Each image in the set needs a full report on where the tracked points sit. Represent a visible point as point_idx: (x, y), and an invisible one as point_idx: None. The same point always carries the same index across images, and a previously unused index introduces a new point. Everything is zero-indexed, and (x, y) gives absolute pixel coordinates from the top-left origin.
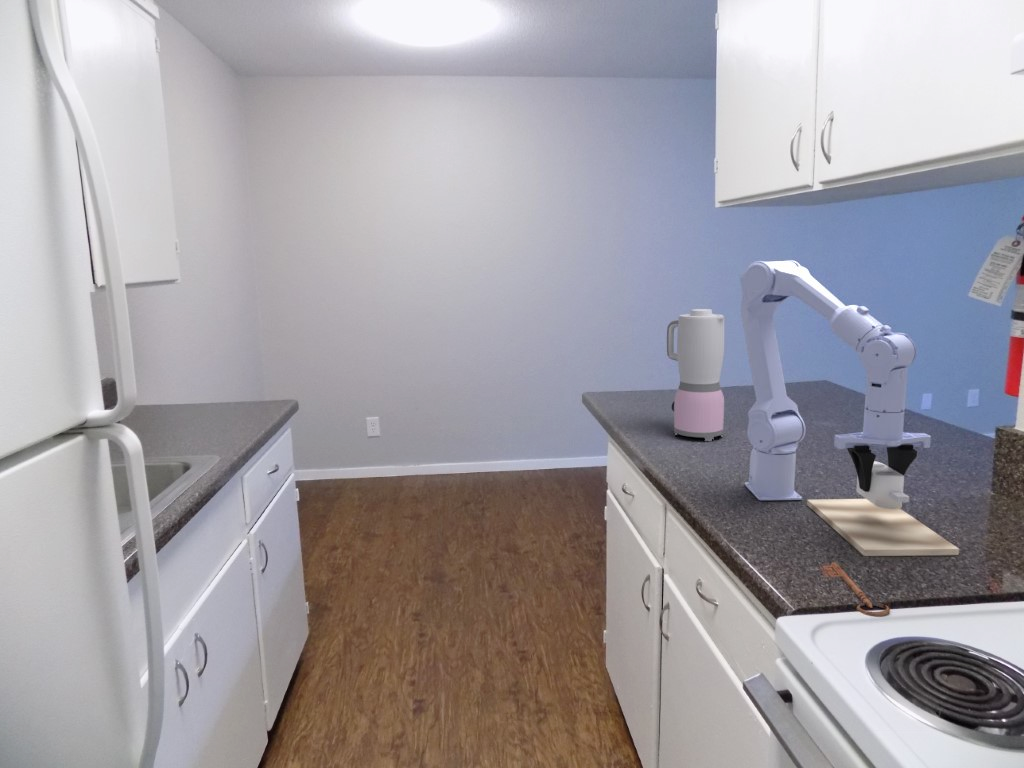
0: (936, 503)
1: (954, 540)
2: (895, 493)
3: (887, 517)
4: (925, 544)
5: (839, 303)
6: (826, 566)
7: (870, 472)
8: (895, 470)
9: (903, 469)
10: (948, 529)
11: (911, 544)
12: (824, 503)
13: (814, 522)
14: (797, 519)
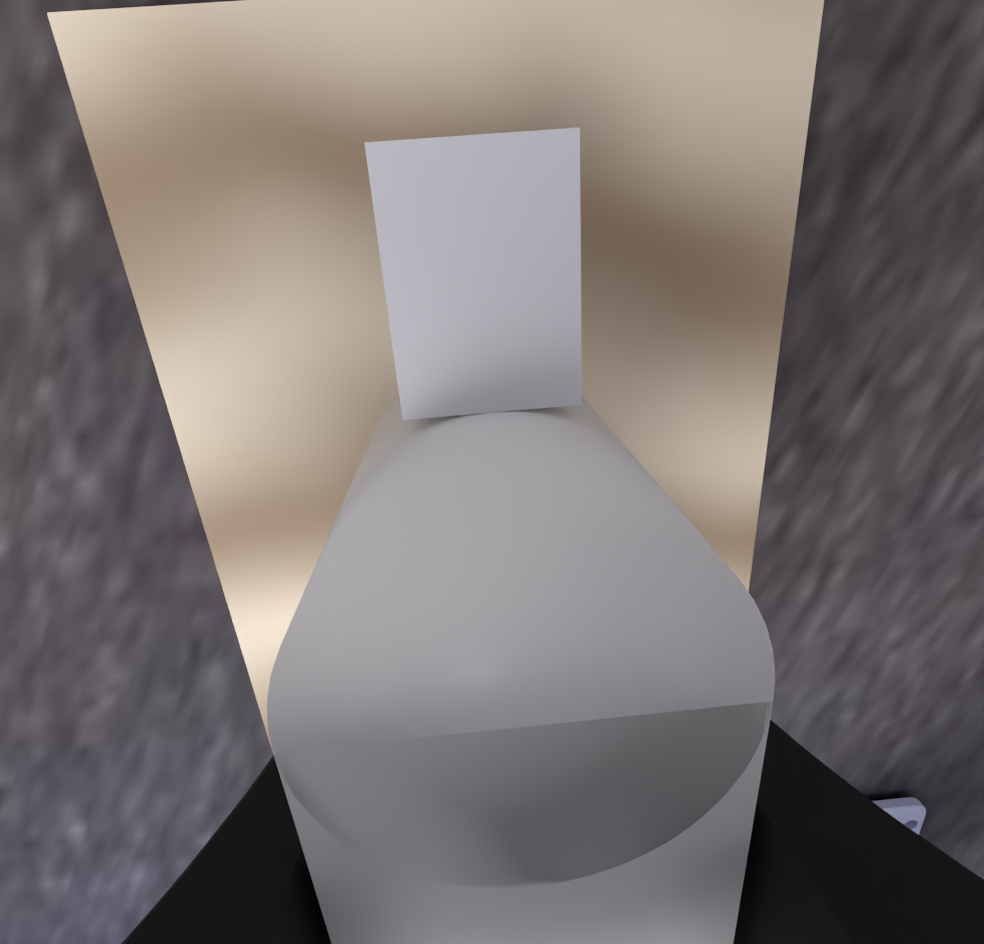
0: (35, 841)
1: (50, 334)
2: (535, 313)
3: None
4: (299, 109)
5: None
6: None
7: (791, 819)
8: (314, 936)
9: (189, 937)
10: (49, 513)
11: (408, 110)
12: None
13: (796, 564)
14: (864, 597)
